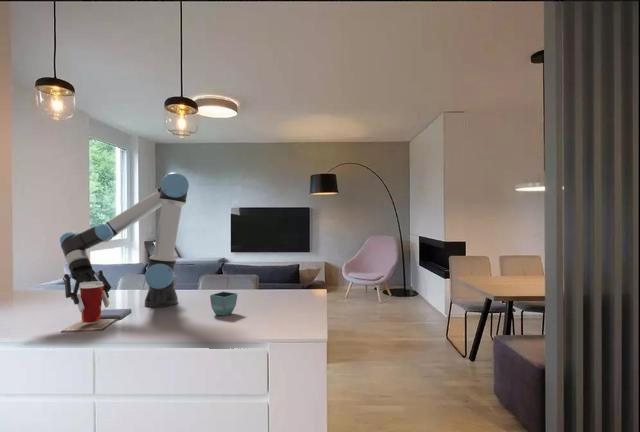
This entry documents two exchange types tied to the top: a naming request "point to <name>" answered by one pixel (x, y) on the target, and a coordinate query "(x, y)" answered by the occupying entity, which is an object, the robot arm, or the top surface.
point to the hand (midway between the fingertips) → (95, 307)
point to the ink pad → (114, 313)
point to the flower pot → (223, 303)
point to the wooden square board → (90, 325)
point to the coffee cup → (91, 300)
